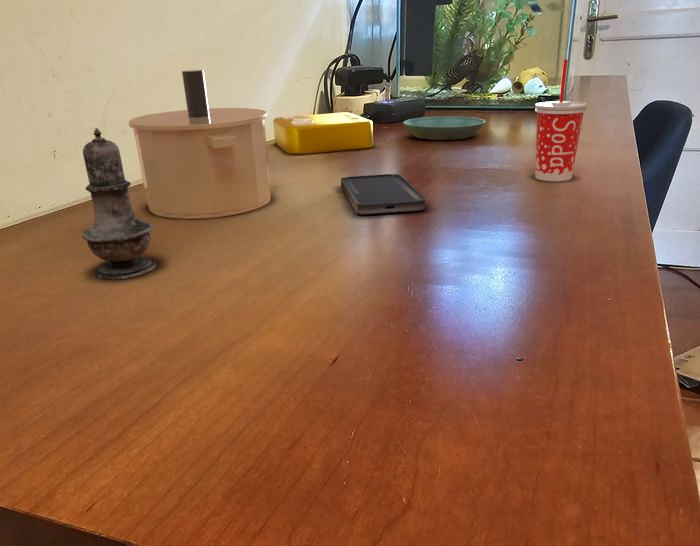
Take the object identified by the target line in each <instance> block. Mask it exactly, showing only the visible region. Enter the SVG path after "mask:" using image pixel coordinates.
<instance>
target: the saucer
mask: <svg viewBox="0 0 700 546" xmlns="http://www.w3.org/2000/svg"><path fill="white" fill-rule="evenodd" d="M485 124H486V120H485V119H483V118H479V117H473V116H458V115H455V116H454V115H450V116H449V115H444V116H443V115H439V116H425V117H424V116H423V117H415V118H409V119H406V120H404V121H403V125H404V127H405V128H406V130H407V131H408V132H409V133H410V134H411V135H412V136H414V137H415V138H418V139H421V140H430V141H455V140H465V139H469V138H472V137H474V136H475V135H476V134H477V133H478V132H479V131H480V130H481V129H482V128H483V127H484V125H485Z"/></svg>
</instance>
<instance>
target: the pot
mask: <svg viewBox="0 0 700 546" xmlns="http://www.w3.org/2000/svg"><path fill="white" fill-rule="evenodd" d="M265 125H266V124H265V119H264V120H262V121H258V122H255V123H250V124H245V125H238V126H231V127H223V128H213V129H201V130H182V131H151V130H139V129H134V128H132V129H133V133H134V140H135V146H136V150H137V156H138V162H139V166H140V173H141V178H142V183H143V189H144V194H145V200H146V205H147V206H148V210H149V212H150V213H152V214H154V215H156V216H159V217H165V218H170V219H183V220H184V219H185V220H189V219H190V220H194V219H195V220H196V219H197V220H198V219H211V218H212V219H213V218H220V217H221V218H222V217H229V216H234V215H239V214H243V213H248V212H251V211H254V210H257V209H260V208H262V207H264V206H266V205H268V204H269V203H270V202H271V200H272V199H271V198H272V197H271V193H272V188H271V180H270V179H271V178H270V167H269V156H268V146H267V137H266V126H265Z"/></svg>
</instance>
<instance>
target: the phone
mask: <svg viewBox="0 0 700 546" xmlns="http://www.w3.org/2000/svg"><path fill="white" fill-rule="evenodd" d="M340 188H341V190H342V192H343V194H344V195H345V197H346V199H347V200H348V202H349V204H350V205H351V207H352V209H353V210H354V212H355V214H357V215H362V216H368V215H369V216H370V215H371V216H372V215H382V214H397V213H409V212H421V211H424V210H425V209H426V198H425V197H424V195H422V194H421V193H420V191H418V190H417V189H416V188H415V187H414V186H413V185H412V184H411V183H410V182H409V181H408V180H406V178H404V177H403V176H402V175H401V174H398V173H385V174H384V173H383V174H370V175H353V176H344V177H341V178H340Z"/></svg>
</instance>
